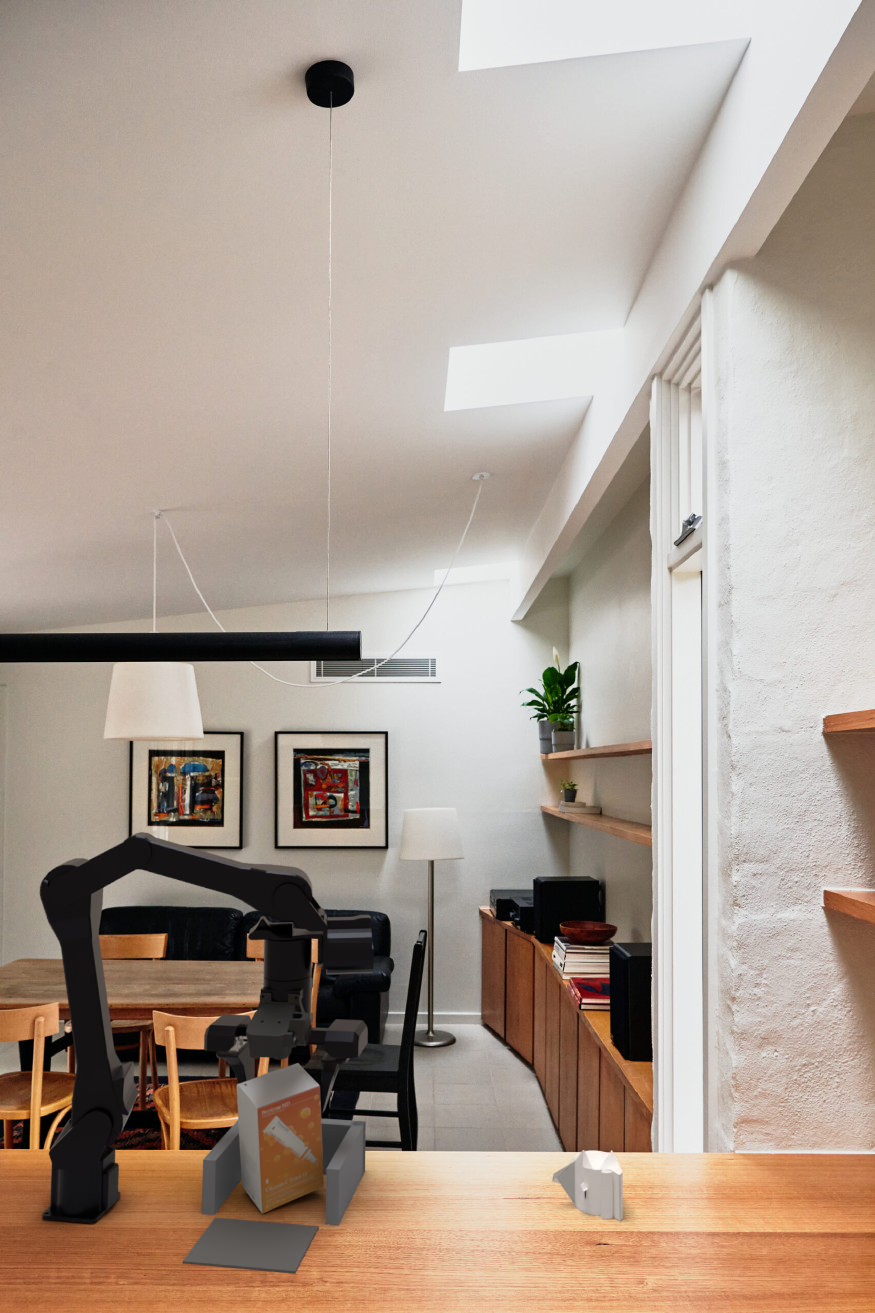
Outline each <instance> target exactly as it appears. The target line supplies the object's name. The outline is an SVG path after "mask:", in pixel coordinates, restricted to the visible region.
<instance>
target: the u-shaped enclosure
mask: <svg viewBox="0 0 875 1313" xmlns="http://www.w3.org/2000/svg"><path fill="white" fill-rule="evenodd" d="M366 1123H367V1122H366V1121H365V1120H364V1121H362V1120H349V1119H347V1120H346V1119H332V1118H321V1127H322V1150H323V1175H325V1225H326V1224H330V1225H329V1226H338V1227H339V1226H340V1223H341V1222H342V1220H343V1217H344V1215H345V1213H346V1212H347V1210H346V1209H348V1207H349V1205H350V1203H351V1201H352V1199H353V1197H354V1195H355V1193H356V1190H357V1189H358V1187H359V1185H360V1183H361V1181H362V1179H363V1176H364V1174H365V1172H366V1130H367V1129H366ZM240 1182H242V1177H241V1161H240V1143H239V1122H238V1120H236V1122H235V1123H234V1124H233V1125H232V1126H231V1127H230V1128H229V1129H228V1131H227V1132H226V1133H225V1134H224V1135H223V1136H222V1137H221V1139H220V1140H218V1142H217V1143H216V1145H214V1146H213V1147H212V1149H211V1150H210V1151H209V1152H208V1153H207V1154H206V1156H205V1157H204V1158H203V1159H202V1184H201V1185H202V1187H201V1188H202V1189H201V1191H202V1192H201V1215H207V1216H215V1215H216V1214H217V1212H218V1211H219V1210H220V1208H221V1207H222V1206H223V1205H224V1203H225V1201H226V1200H227V1199H228V1198H229V1196H230V1195H231V1194H232V1193H233V1191H234V1190H235V1188H236V1187H237V1186H238V1184H240ZM345 1211H346V1212H345Z"/></svg>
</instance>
